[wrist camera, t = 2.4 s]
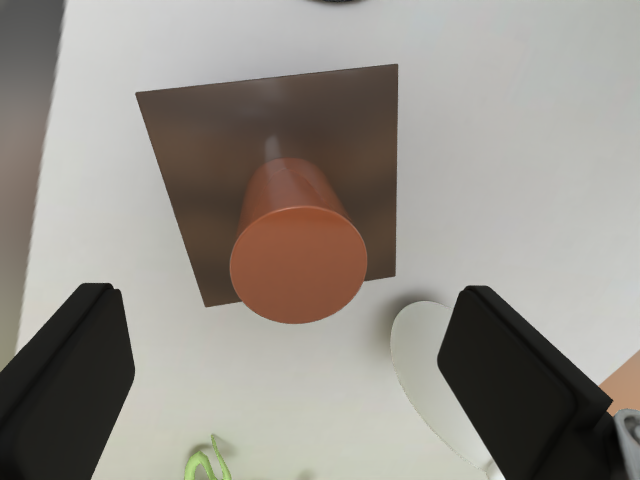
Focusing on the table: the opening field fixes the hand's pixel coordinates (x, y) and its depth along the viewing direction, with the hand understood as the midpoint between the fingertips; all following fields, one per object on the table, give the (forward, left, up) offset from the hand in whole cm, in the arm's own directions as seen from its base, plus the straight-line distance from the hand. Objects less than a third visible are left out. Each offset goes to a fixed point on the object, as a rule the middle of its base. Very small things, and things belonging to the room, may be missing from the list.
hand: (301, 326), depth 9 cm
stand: (0, 0, -18) cm, 18 cm away
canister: (0, 0, -10) cm, 10 cm away
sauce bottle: (+14, +14, -18) cm, 26 cm away
